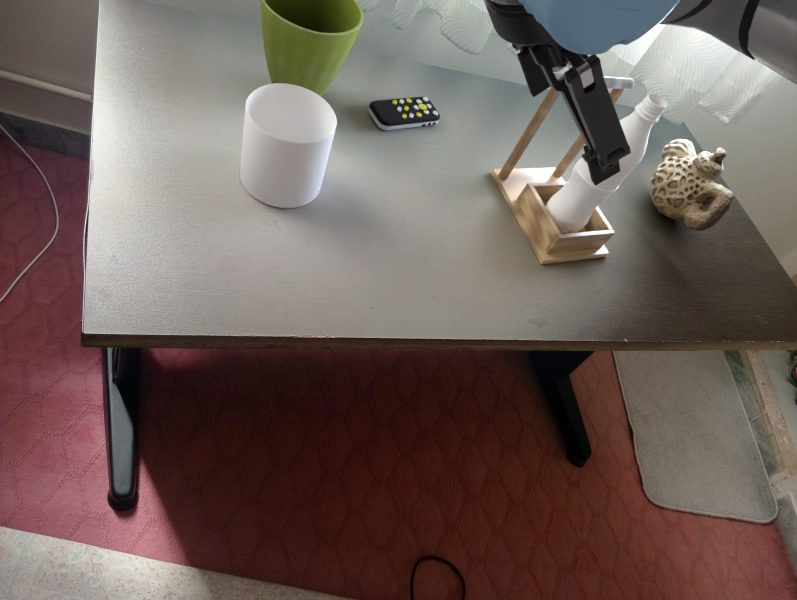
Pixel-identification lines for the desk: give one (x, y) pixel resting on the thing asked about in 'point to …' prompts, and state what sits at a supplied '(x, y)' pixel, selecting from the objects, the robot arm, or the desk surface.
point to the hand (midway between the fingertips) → (572, 130)
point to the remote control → (403, 113)
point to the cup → (285, 144)
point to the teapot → (690, 185)
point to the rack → (538, 185)
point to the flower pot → (308, 39)
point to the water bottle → (583, 196)
